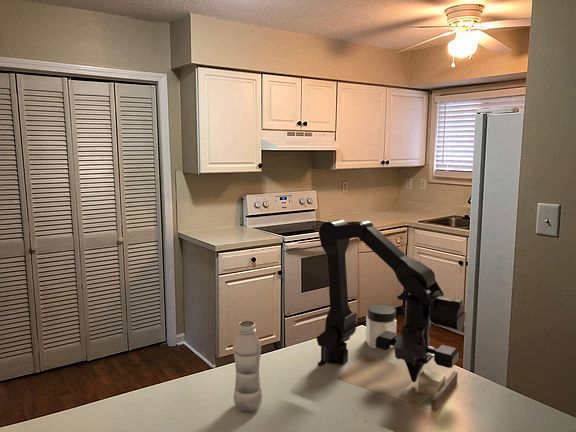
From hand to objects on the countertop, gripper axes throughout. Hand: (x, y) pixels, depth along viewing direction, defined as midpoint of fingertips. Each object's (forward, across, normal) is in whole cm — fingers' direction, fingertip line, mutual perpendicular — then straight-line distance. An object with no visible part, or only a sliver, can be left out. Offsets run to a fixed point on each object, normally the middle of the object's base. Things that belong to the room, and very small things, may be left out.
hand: (414, 381), depth 114 cm
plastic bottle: (+3, -28, -29) cm, 40 cm away
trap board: (+3, -4, 0) cm, 5 cm away
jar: (+3, -17, +18) cm, 25 cm away
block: (+1, +4, 0) cm, 4 cm away
